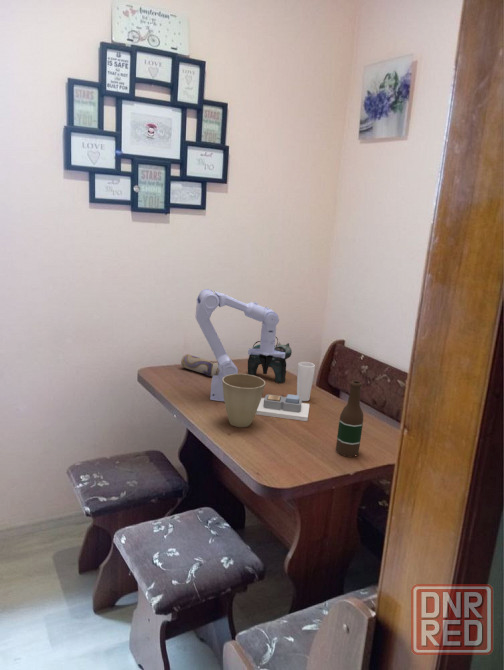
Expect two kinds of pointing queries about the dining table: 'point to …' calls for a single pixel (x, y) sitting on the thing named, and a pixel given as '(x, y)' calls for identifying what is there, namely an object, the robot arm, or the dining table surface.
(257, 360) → the ceramic cat
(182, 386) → the dining table surface
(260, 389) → the plant pot
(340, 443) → the beer bottle
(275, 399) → the key oak
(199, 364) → the decorative bottle
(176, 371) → the dining table surface
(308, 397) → the drinking glass
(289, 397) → the key slate
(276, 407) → the key panel
